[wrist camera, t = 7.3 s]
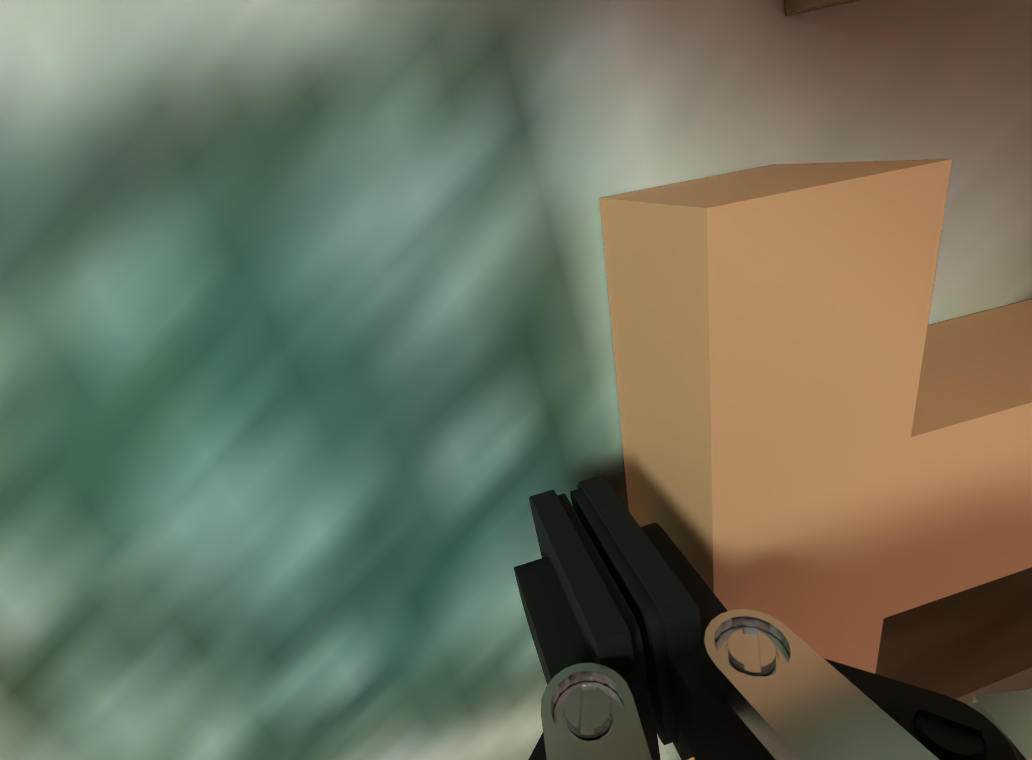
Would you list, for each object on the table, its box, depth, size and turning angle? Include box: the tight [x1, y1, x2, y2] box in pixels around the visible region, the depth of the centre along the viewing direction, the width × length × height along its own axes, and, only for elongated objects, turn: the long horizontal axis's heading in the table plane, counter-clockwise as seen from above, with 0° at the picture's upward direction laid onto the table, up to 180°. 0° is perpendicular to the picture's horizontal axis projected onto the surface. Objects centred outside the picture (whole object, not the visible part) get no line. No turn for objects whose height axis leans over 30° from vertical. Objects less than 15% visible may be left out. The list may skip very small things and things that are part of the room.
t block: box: [600, 159, 1032, 760], centre depth 13 cm, size 14×13×4 cm
